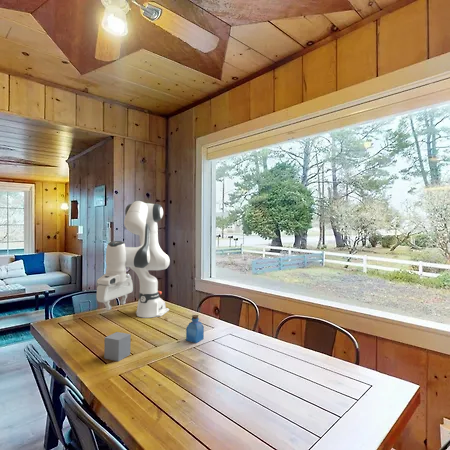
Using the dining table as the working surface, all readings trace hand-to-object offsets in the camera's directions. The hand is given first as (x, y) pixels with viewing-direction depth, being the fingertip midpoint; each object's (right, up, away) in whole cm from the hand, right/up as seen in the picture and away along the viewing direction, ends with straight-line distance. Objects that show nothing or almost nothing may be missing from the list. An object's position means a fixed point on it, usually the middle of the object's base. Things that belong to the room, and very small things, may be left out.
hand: (116, 306), depth 140 cm
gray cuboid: (+4, -19, -9) cm, 21 cm away
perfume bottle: (+35, -20, +11) cm, 42 cm away
